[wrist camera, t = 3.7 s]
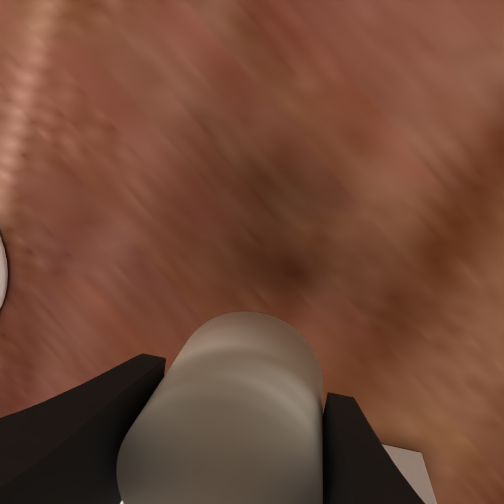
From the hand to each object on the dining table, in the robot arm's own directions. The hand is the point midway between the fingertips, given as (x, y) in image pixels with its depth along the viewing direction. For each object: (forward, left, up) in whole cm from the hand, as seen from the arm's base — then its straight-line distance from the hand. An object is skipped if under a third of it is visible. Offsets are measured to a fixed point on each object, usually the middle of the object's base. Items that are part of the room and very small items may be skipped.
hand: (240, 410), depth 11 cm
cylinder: (0, 0, -2) cm, 2 cm away
